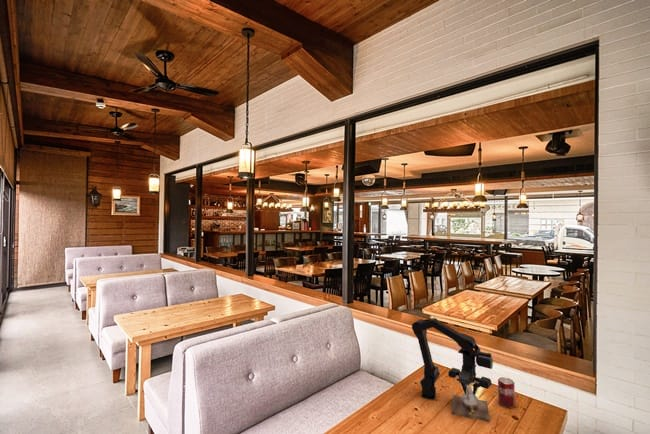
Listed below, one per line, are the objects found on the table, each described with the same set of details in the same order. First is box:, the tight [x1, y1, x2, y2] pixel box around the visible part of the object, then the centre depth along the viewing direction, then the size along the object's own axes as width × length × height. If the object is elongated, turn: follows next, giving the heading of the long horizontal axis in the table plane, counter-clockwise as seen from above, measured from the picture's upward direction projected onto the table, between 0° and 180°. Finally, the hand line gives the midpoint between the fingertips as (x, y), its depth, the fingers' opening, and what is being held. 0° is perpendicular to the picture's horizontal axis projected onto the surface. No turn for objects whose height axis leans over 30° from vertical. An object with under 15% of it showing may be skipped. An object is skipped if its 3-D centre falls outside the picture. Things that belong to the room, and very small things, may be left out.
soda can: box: [497, 376, 516, 409], centre depth 160 cm, size 7×7×12 cm
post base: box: [451, 394, 490, 423], centre depth 157 cm, size 16×15×2 cm
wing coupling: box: [461, 384, 479, 412], centre depth 156 cm, size 12×7×8 cm, turn 165°
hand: (469, 395), depth 157 cm, fingers open, 4 cm apart
